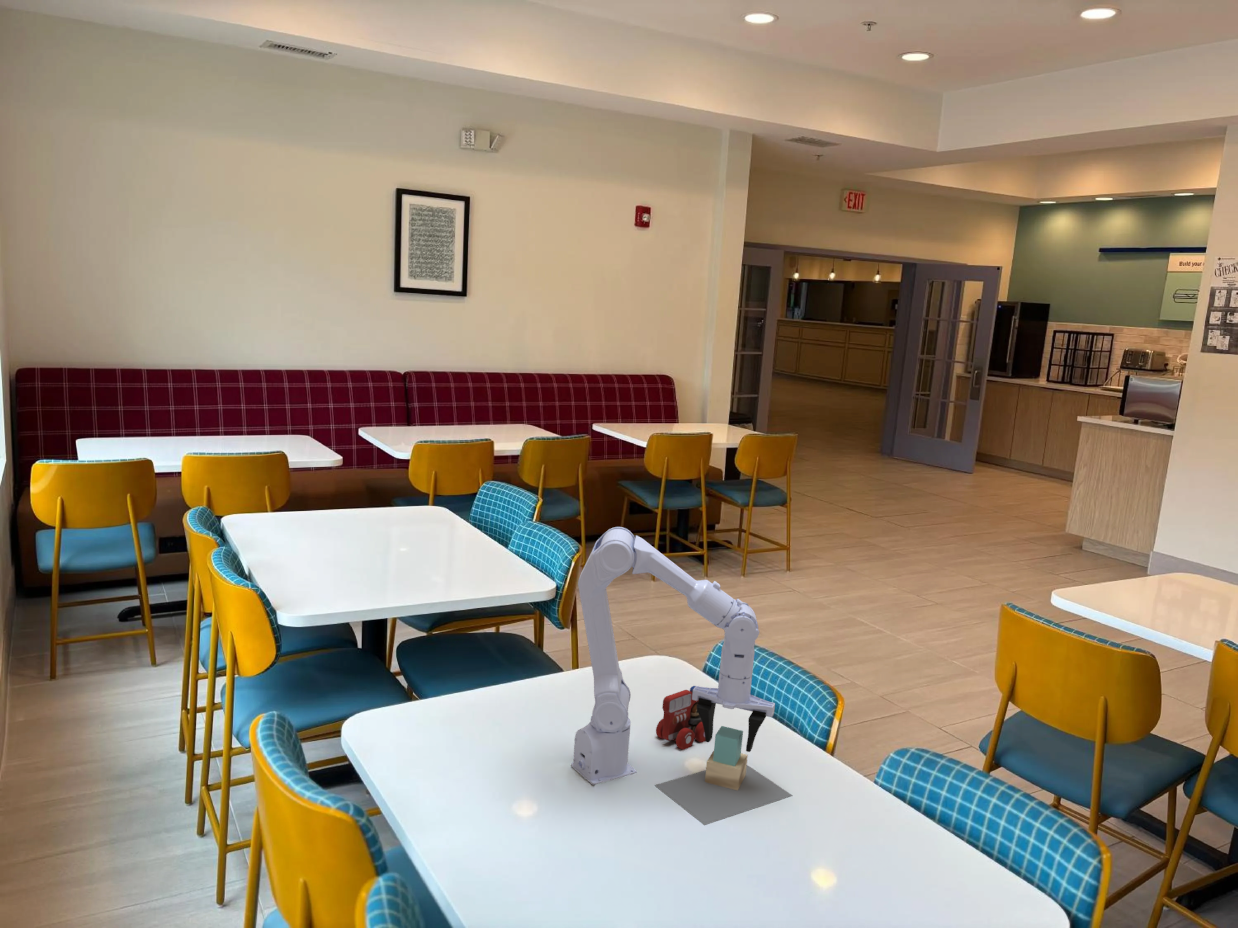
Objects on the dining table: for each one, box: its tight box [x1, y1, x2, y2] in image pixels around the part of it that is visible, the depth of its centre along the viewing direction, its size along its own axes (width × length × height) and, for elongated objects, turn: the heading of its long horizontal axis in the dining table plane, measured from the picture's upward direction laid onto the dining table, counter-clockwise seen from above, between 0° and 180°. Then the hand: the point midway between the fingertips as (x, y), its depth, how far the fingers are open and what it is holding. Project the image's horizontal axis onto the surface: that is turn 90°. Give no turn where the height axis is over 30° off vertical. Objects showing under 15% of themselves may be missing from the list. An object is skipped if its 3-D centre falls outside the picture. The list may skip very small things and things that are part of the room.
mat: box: [653, 764, 793, 826], centre depth 164 cm, size 20×14×1 cm
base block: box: [705, 750, 749, 790], centre depth 168 cm, size 6×6×4 cm
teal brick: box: [713, 725, 744, 766], centre depth 167 cm, size 4×4×5 cm
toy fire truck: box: [655, 685, 706, 751], centre depth 182 cm, size 7×12×10 cm, turn 133°
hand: (728, 744), depth 167 cm, fingers open, 7 cm apart
